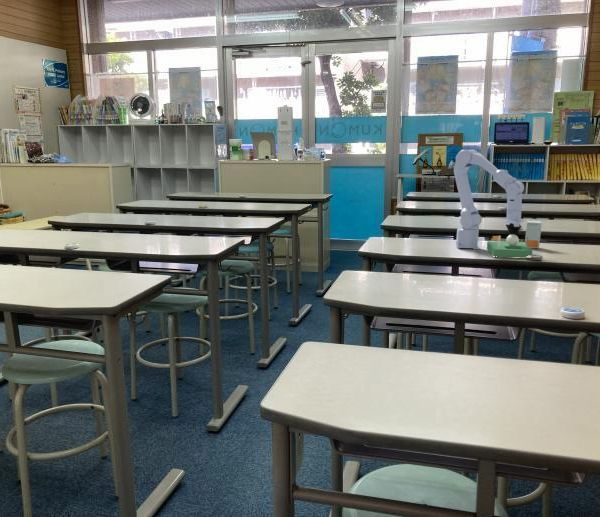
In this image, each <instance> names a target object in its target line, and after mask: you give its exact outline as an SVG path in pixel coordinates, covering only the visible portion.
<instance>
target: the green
mask: <svg viewBox="0 0 600 517" xmlns="http://www.w3.org/2000/svg"><path fill="white" fill-rule="evenodd" d="M501 238H502V236H501V235H492V240H486V242H487V243H486V250H487V249H488V250H489V251H488V250H487V251H488V253H489V254H490V253H491V254H492V255H493V256H495V257H496V256H497V257H526V256H528V255H532V256H533V250H532V248H529V247H528V246H526V245H525V242H523V241H519V242H518V244H517V245H515V246H510V245H508V244H507V242H506V241H501ZM491 254H490V255H491ZM492 255H491V256H492ZM493 256H492V257H493Z"/></svg>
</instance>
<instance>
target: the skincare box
mask: <svg viewBox="0 0 600 517" xmlns="http://www.w3.org/2000/svg"><path fill="white" fill-rule="evenodd" d="M542 223H543V222H542V221H538V220H537V221H536V220H535V221H533V220H528V221H527V222H526V226H525V227H526V228H525V237H524V238H525V239H524V244H525V245H526V246H528V247H529V248H530V249H533V248H538V249H539V248H540V244H541V243H540V242H541V234H542V233H541V232H542V225H543V224H542Z"/></svg>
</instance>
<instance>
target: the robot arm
mask: <svg viewBox="0 0 600 517" xmlns="http://www.w3.org/2000/svg"><path fill="white" fill-rule="evenodd" d="M473 165H477V166H480V167H481V169H484V170H485V171H486V172H488V173H489V174H490V175H492V178H493V181H494V182H496V183H497V184H498V185H499V186H500V187H501V188H503V190H505V192H506V195H507V198H506V199H507V200H506V220H505V222H506V223H508V224H505V226H506V229H507V233H508V236H509V235H512V234H514V235H516V236H517V237H518V234H519V231H520V229H521V228H522V225H521V224H520V223H523V222H524V221H525V220H524V219H522V202H523V201H522V198H523V196H522V195H523V192H524V190H525V185H524V183H523V182H522V181H521V180H517V178H516V177H513V176H512V175H511V174H510V173H509V171H508V170H507V169H498V168H497V167H496V166H495V165H494V164H493V163H492V162H491V161H490V160H488V159H487V158H486V157H485V156H484V155H483V154H482V153H481V152H479V151H477V150H476V149H473V148H472V149H466V148H465V149H461V150H459V152H458V153H457V154H456V156H455V163H454V167H453V173H454V179H455V183H456V188H457V191H458V196H459V201H460V205H461V211H460V219H459V220H460V221H459V223H460V225H461V228H460V227H458V228H457V230H456V240H455V246H456V245H457V246H456V248H457V249H459V248H473V249H472V250H480V247H479V244H478V243H479V230H480V228H479V226H480V225H481V223H482V221H483V220H482V219H483V218H482V216H481V215H480V214H479V210H478V208H477V207H476V206H475V202H474V199H473V194H472V190H471V185H470V182H469V177H468V170H469V169H470V168H471V167H472V166H473Z"/></svg>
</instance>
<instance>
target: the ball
mask: <svg viewBox="0 0 600 517" xmlns="http://www.w3.org/2000/svg"><path fill="white" fill-rule="evenodd" d="M505 242H507V244H508V245H510V246H515V245H517V244H518V242H520V240H519V237H518V235H517V236H516V235H514V234H512V235H509V234H508V236H506V240H505Z"/></svg>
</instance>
